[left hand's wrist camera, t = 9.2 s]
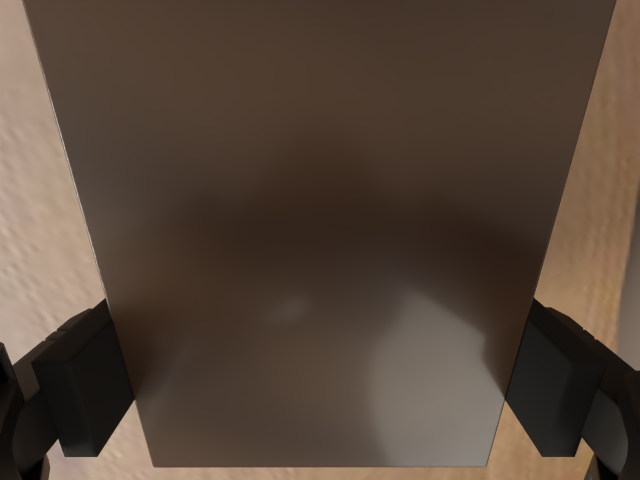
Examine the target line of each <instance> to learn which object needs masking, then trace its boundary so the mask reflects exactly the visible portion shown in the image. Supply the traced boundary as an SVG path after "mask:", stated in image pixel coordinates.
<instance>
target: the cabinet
mask: <svg viewBox="0 0 640 480" xmlns="http://www.w3.org/2000/svg"><path fill="white" fill-rule="evenodd" d="M22 2H23V5H24V9H25V12H26V16H27V20H28V23H29V27H30V30H31V34H32V37H33V41H34V44H35V48H36V52H37V55H38V59H39V62H40V66H41V69H42V73H43V76H44V80H45V84H46V87H47V91H48V94H49V98H50V101H51V105H52V108H53V112H54V116H55V119H56V123H57V126H58V130H59V133H60V137H61V140H62V144H63V148H64V151H65V155H66V158H67V162H68V165H69V169H70V172H71V176H72V180H73V183H74V187H75V190H76V194H77V197H78V201H79V204H80V208H81V212H82V215H83V219H84V222H85V226H86V229H87V233H88V236H89V240H90V244H91V247H92V251H93V254H94V258H95V261H96V265H97V268H98V272H99V276H100V279H101V283H102V286H103V290H104V293H105V297H106V300H107V304H108V308H109V311H110V315H111V318H112V322H113V325H114V329H115V332H116V336H117V340H118V343H119V347H120V350H121V354H122V357H123V361H124V364H125V368H126V372H127V375H128V379H129V382H130V386H131V389H132V393H133V397H134V400H135V404H136V407H137V411H138V414H139V418H140V421H141V425H142V429H143V432H144V436H145V439H146V443H147V446H148V450H149V453H150V457H151V461H152V464H153V467H486V466H487V463H488V459H489V456H490V452H491V448H492V445H493V441H494V438H495V434H496V431H497V427H498V423H499V420H500V416H501V413H502V409H503V405H504V402H505V398H506V395H507V391H508V388H509V384H510V380H511V377H512V373H513V370H514V366H515V362H516V359H517V355H518V352H519V348H520V344H521V341H522V337H523V334H524V330H525V327H526V323H527V319H528V316H529V312H530V309H531V305H532V301H533V298H534V294H535V291H536V287H537V284H538V280H539V276H540V273H541V269H542V266H543V262H544V258H545V255H546V251H547V248H548V244H549V241H550V237H551V233H552V230H553V226H554V223H555V219H556V215H557V212H558V208H559V205H560V201H561V197H562V194H563V190H564V187H565V183H566V180H567V176H568V172H569V169H570V165H571V162H572V158H573V154H574V151H575V147H576V144H577V140H578V137H579V133H580V129H581V126H582V122H583V119H584V115H585V111H586V108H587V104H588V101H589V97H590V93H591V90H592V86H593V83H594V79H595V76H596V72H597V68H598V65H599V61H600V58H601V54H602V50H603V47H604V43H605V40H606V36H607V33H608V29H609V25H610V22H611V18H612V15H613V11H614V7H615V4H616V0H22Z"/></svg>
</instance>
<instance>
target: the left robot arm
mask: <svg viewBox="0 0 640 480" xmlns="http://www.w3.org/2000/svg"><path fill="white" fill-rule="evenodd" d="M505 400H506V402H507V403H508V405H509V406H510V408H511V409H512V411H513V413H514V414H515V416H516V417H517V419H518V420H519V422H520V423H521V425H522V426H523V428H524V429H525V431H526V433H527V434H528V436H529V437H530V439H531V440H532V442H533V443H534V445H535V446H536V448H537V449H538V451H539V453H540V454H541V456H542V457H575V454H576V452H577V449H578V446H579V443H580V441H581V438H583V439H584V440H585V442H586V443H587V444H588V445H589V447H590V448H591V449H592V450H593V452H594V454H593V457H592V459H591V462H590V465H589V467H588V470H587V472H586V475H585V478H584V480H640V371H635V370H634V369H633V368H632V367H631V366H629V365H628V364H627V363H626V362H624V361H623V360H622V359H621V358H619V357H618V356H617V355H616V354H614V353H613V352H612V351H611V350H610V349H608V348H607V347H606V346H605V345H603V344H602V343H601V342H600V341H598V340H595V339H594V336H592V335H591V334H590V333H589V332H587V331H586V330H583V328H582V327H581V326H580V325H579V324H577V323H576V322H575V321H574V320H573V319H571V318H570V317H569V316H567V315H565V314H563V313H561V312H559V311H557V310H555V309H553V308H551V307H544V306H543V305H542V304H541V303H539V302H538V301H537V300H536V299H535V298H533V301H532V305H531V309H530V312H529V316H528V319H527V323H526V327H525V330H524V334H523V337H522V341H521V344H520V348H519V352H518V355H517V359H516V362H515V366H514V370H513V373H512V377H511V380H510V384H509V388H508V391H507V395H506V398H505ZM133 401H134V397H133V393H132V389H131V386H130V382H129V379H128V375H127V372H126V368H125V364H124V361H123V357H122V354H121V350H120V347H119V343H118V340H117V336H116V332H115V329H114V325H113V322H112V318H111V315H110V311H109V308H108V304H107V300H106V298H105V299H104V300H103V301H101V302H100V303H99V304H98V305H97V306H96V307H94V308H93V309H87V310H85V311H83V312H81V313H80V314H78V315H76V316H74V317H72V318H70V319H69V320H68V321H66V322H65V323H64V324H63V325H62V326H60V327H59V328H58V329H57V331H54V332H53V333H52V334H51V335H49V336H48V337H47V338H46V340H45V341H42V342H41V343H40V344H38V345H37V346H36V347H35V348H33V349H32V350H31V351H30V352H29V353H27V354H26V355H25V356H24V357H22V358H21V359H20V360H19V361H17V362H16V363H15V364H14V365H13V366H12V364H11V361H10V359H9V356H8V354H7V351H6V348H5V346H4V344H3V343H1V342H0V480H48V479H49V472H50V464H49V459H48V457H47V454H46V453H47V452H48V451H49V449H50V448H51V447H52V446H53V444H54V443H55V442H56V441H57V439H59V442H60V445H61V447H62V450H63V453H64V456H65V457H98V455H99V454H100V452H101V450H102V449H103V447H104V446H105V444H106V443H107V441H108V440H109V438H110V437H111V435H112V433H113V432H114V430H115V429H116V427H117V426H118V424H119V423H120V421H121V420H122V418H123V417H124V415H125V413H126V412H127V410H128V409H129V407H130V406H131V404H132V403H133Z"/></svg>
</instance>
